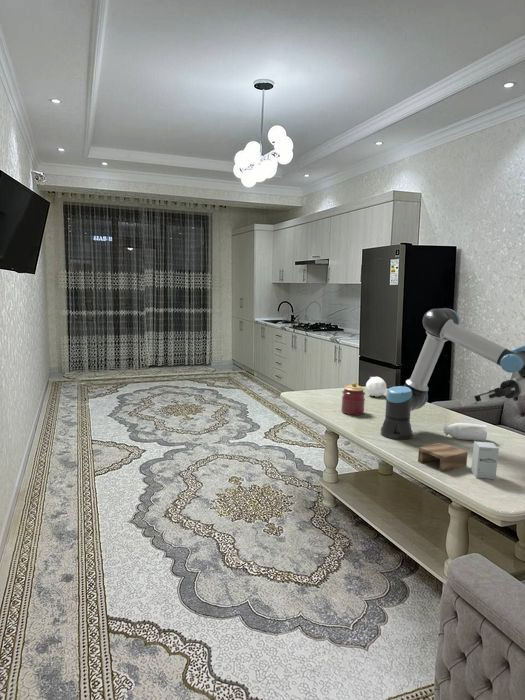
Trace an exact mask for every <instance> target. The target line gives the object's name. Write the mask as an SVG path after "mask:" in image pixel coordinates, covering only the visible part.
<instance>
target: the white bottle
mask: <svg viewBox="0 0 525 700" xmlns="http://www.w3.org/2000/svg"><path fill="white" fill-rule="evenodd" d="M487 427H488V426H487V425H486V424H477V423H468V422H467V423H466V422H456V423H452V424H450V425H446V424H445V425H444V427H443V433H444V434H445V436H448V435H449V436H451V437H452V438H455V439H458V440H466V441H473V442H474V441H477V442H487V441H486V440H487V437H488V432H487V431H488V428H487Z"/></svg>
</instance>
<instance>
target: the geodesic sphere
mask: <svg viewBox="0 0 525 700" xmlns="http://www.w3.org/2000/svg"><path fill="white" fill-rule="evenodd" d="M365 389H366V390H365V391H366V392H367V394H368V395H370V396H372V397H373V396H375V397H374V398H379V396H380V397H382V396H383V395H384V394H385V392H387V383H386V381H385V380H384V379H383V378H381V377H379V376H377V375H375V376H369V379H368V380H367V381H366V383H365Z"/></svg>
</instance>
